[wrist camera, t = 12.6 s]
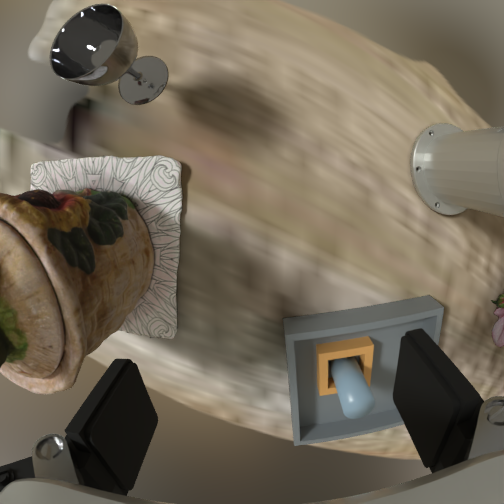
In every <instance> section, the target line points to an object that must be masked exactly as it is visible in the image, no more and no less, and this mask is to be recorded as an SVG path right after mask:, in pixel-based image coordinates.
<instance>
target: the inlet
mask: <svg viewBox="0 0 504 504" xmlns="http://www.w3.org/2000/svg"><path fill="white" fill-rule="evenodd" d="M373 350H374V344H373V343H372V341H371V339H370V338H369V336H366V337H360V338H354V339H348V340H342V341H336V342H329V343H322V344H316V355H317V387H318V391H319V395H320V396H323V395H329V394H335V393H337V390H336V386H335V383H334V380H333V377H330V378H328V360H333V359H339V358H345V357H351V356H356V355H360V358H359V366H360V368H361V371H362V373H363V375H364V377H365V379H366V382H367V384H368V386H369V387H370V381H371V372H372V361H373Z"/></svg>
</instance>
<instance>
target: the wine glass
mask: <svg viewBox="0 0 504 504" xmlns="http://www.w3.org/2000/svg"><path fill="white" fill-rule="evenodd" d="M137 54H138V41H137V37H136V34H135V31H134V29H133V27H132V26H131V24H130V22H129V21H128V20H127V19H126V17H125V16H124V15H123V14H122V13H121V12H120V11H119V10H118V9H117V8H115V7H114V6H112V5H109V4H96V5H92V6H89V7H87V8H84V9H83V10H81V11H79V12H78V13H76V14H75V15H74V16H72V17H71V18H70V19H69V20H68V21H67V22H66V23H65V24H64V25H63V27H62V28H61V29H60V31H59V32H58V34H57V36H56V37H55V39H54V42H53V44H52V47H51V51H50V65H51V68H52V70H53V71H54V73H55V74H56V75H57V76H59V77H61V78H63V79H65V80H68V81H71V82H74V83H77V84H82V85H89V86H100V85H107V84H110V83H113V82H115V81H117V80H118V79H119V83H118V88H119V93H120V95H121V97H122V98H123V99H124V100H125V101H126V102H128V103H130V104H135V105H140V104H145V103H148V102H150V101H152V100H153V99H155V98H156V97H157V96H158V95H159V94H160V93H161V92H162V91H163V89H164V87H165V85H166V83H167V79H168V70H167V67H166V65H165V63H164V62H163V61H162V60H161V59H159V58H157V57H154V56H143V57H140V58H137V59H136V57H137Z"/></svg>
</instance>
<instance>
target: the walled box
mask: <svg viewBox="0 0 504 504" xmlns="http://www.w3.org/2000/svg"><path fill="white" fill-rule="evenodd" d="M443 311H444V307H443V306H442V305H441V304H440V303H438V302H437V301H436V300H435V299H433V298H432V297H431V296H430V295H427V296H422V297H417V298H412V299H407V300H401V301H396V302H390V303H385V304H379V305H373V306H367V307H361V308H355V309H348V310H342V311H335V312H328V313H321V314H314V315H306V316H298V317H290V318H283V325H284V336H285V346H286V357H287V368H288V379H289V391H290V403H291V415H292V428H293V438H294V446H297V445H305V444H313V443H320V442H326V441H332V440H338V439H343V438H349V437H354V436H358V435H363V434H368V433H372V432H376V431H380V430H384V429H388V428H392V427H396V426H399V425H403V424H404V422H403V420H402V418H401V416H400V414H399V412H398V410H397V408H396V406H395V404H394V401H393V389H394V383H395V377H396V371H397V364H398V357H399V349H400V341H401V337H402V336H405V333H406V332H407V331H410V330H414V329H419V328H422V329H423V330H424V331H425V332H426V333H427V334H428V335H429V336H430V337H431V338H432V340H433V341H434V342H435V343H436V344H437V345H438V343H439V337H440V331H441V325H442V319H443ZM366 336H369V338H370V339H371V341H372V343H373V344H374V350H373V361H372V372H371V381H370V387H369V388H370V391H371V393H372V395H373V397H374V400H375V406H374V408H373V410H372V411H371V412H370V413H369V414H367V415H366V416H364V417H361V418H357V419H351V418H348V417H346V416H345V415H344V413H343V409H342V406H341V403H340V399H339V396H338V393H335V394H329V395H323V396H320V395H319V391H318V387H317V355H316V344H322V343H329V342H336V341H342V340H348V339H354V338H360V337H366ZM355 358H356V360H357V362H358V364H359V358H360V355H356V356H355ZM329 361H330V360H328V378H330V377H332V374H331V371H330V367H329Z"/></svg>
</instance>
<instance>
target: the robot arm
mask: <svg viewBox="0 0 504 504" xmlns="http://www.w3.org/2000/svg"><path fill="white" fill-rule="evenodd" d="M429 134H430V135H429ZM410 166H411V175H412V180H413V183H414V186H415V189H416V191H417V193H418V195H419V196H420V198H421V199H422V201H423V202H424V203H425V204H426V205H427V206H428V207H429V208H430V209H432V210H434V211H436V212H438V213H441V214H445V215H456V214H459V213H462V212H463V211H465V210H466V209H468V208H469V209H473V210H477V211H481V212H485V213H489V214H493V215H496V216H500V217H504V127H495V128H487V129H479V130H471V131H463V130H461V129H460V128H458V127H456V126H454V125H452V124H447V123H439V124H435V125H432V126H430V127H427V128H426V129H425V130H424V131H422V132H421V133H420V135H419V136H418V137H417V139H416V141H415V143H414V145H413V149H412V153H411V161H410ZM416 168H417V171H416ZM393 401H394V404H395V406H396V408H397V410H398V412H399V414H400V416H401V418H402V420H403V422H404V424H405V426H406V428H407V430H408V432H409V434H410V436H411V439H412V441H413V443H414V445H415V447H416V449H417V451H418V454H419V456H420V458H421V460H422V462H423V464H424V466H425V467H426V468H428V467H429V468H430V470H431V472H432V474H429V475H426V476H423V477H420V478H417V479H415V480H411V481H408V482H405V483H401V484H398V485H395V486H392V487H388V488H384V489H381V490H377V491H373V492H368V493H364V494H360V495H355V496H351V497H345V498H340V499H334V500H329V501H322V502H315V503H307V504H504V397H502V396H495V397H491V398H489V399H487V400H486V401H485V402H484V400H483V399H482V398H481V396H480V395H479V393H478V392H477V391H476V390H475V388H474V387H473V386H472V385H471V383H470V382H469V381H468V380H467V379H466V377H465V376H464V375H463V374H462V373H461V372H460V370H459V369H458V368H457V367H456V366H455V365H454V363H453V362H452V361H451V360H450V359H449V358H448V356H447V355H446V354H445V353H444V352H443V351H442V350H441V348H440V347H439V346H438V345H437V344H436V343H435V342H434V341H433V340H432V338H431V337H430V336H429V335H428V334H427V333H426V332H425V331H424V330H423V329H422V328H419V329H414V330H410V331H407V332H406V333H405V336H402V337H401V341H400V349H399V357H398V364H397V371H396V377H395V383H394V389H393ZM157 423H158V416H157V413H156V411H155V409H154V407H153V404H152V402H151V400H150V397H149V395H148V392H147V390H146V387H145V385H144V382H143V380H142V377H141V375H140V372H139V369H138V367H137V365H136V364H135V363H133V362H132V361H131V360H130V359H115V360H114V361H113V362H112V364H111V365H110V366H109V368H108V369H107V370H106V372H105V373H104V375H103V376H102V377H101V379H100V380H99V382H98V383H97V384H96V386H95V387H94V389H93V390H92V391H91V393H90V394H89V396H88V397H87V399H86V400H85V402H84V403H83V404H82V406H81V407H80V409H79V410H78V412H77V413H76V414H75V416H74V417H73V419H72V420H71V422H70V423H69V425H68V426H67V428H66V429H65V432H66V434H67V435H66V437H65V438H64V437H63V436H61V435H58V434H48V435H45V436H43V437H41V438H40V439H38V440H37V441H36V442H35V443H34V445H33V448H32V457H28V458H26V459H23V460H19V461H16V462H13V463H10V464H7V465H4V466H1V467H0V504H173V503H165V502H158V501H151V500H145V499H140V498H135V497H129V496H127V493H128V491H129V490H132V489H133V487H134V484H135V481H136V479H137V476H138V473H139V471H140V468H141V465H142V463H143V460H144V457H145V455H146V452H147V450H148V447H149V444H150V442H151V439H152V437H153V434H154V431H155V429H156V426H157Z"/></svg>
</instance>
